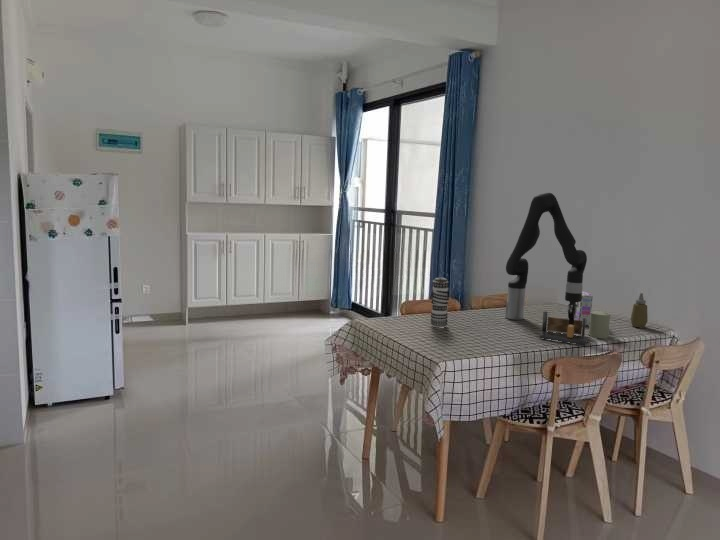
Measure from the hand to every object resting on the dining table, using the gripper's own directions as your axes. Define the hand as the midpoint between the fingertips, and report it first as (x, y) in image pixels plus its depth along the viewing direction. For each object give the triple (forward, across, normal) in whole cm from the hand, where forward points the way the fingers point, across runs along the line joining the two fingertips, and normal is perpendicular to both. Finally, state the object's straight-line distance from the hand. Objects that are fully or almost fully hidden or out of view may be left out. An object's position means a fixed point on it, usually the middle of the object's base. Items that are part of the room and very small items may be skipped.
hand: (571, 326), depth 274 cm
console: (+5, -10, +2) cm, 11 cm away
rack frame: (+5, +3, +4) cm, 7 cm away
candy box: (+5, +32, -2) cm, 32 cm away
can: (+5, +8, -12) cm, 15 cm away
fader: (+3, -10, -1) cm, 10 cm away
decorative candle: (+5, -16, +62) cm, 64 cm away
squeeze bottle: (+5, +39, -29) cm, 49 cm away
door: (+4, +2, +3) cm, 6 cm away
